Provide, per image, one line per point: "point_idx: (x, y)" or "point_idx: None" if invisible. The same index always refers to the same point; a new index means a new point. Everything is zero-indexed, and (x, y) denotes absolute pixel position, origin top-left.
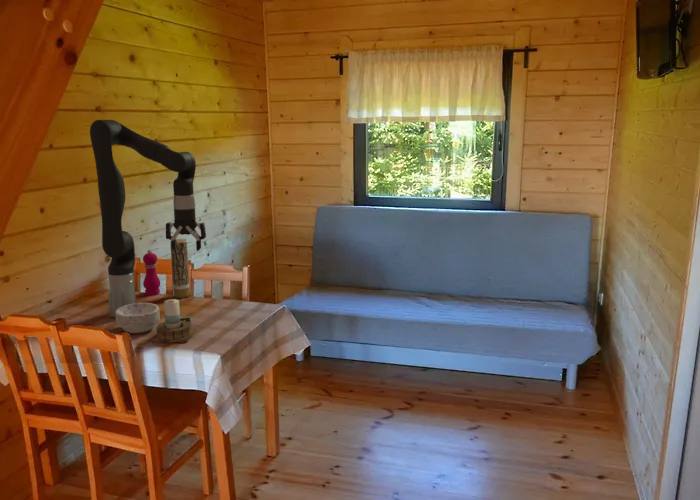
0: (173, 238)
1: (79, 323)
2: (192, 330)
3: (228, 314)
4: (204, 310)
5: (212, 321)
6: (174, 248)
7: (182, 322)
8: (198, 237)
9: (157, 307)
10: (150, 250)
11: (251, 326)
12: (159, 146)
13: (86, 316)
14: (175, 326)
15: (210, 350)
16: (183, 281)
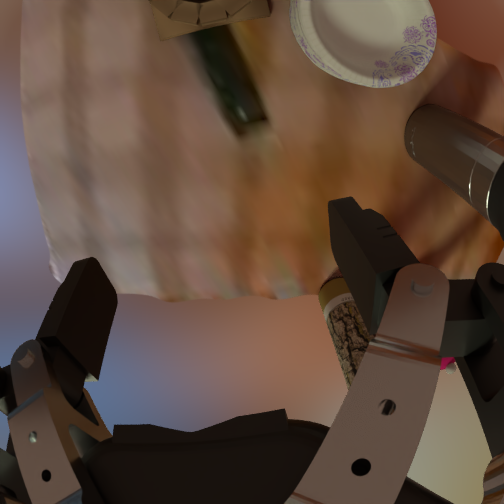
0: (411, 296)
1: (490, 72)
2: (156, 18)
3: (137, 197)
4: (225, 210)
5: (149, 128)
6: (344, 207)
7: (185, 6)
8: (14, 378)
9: (314, 38)
10: (450, 371)
11: (33, 133)
12: None
13: (492, 119)
14: None
15: None
16: (338, 314)
